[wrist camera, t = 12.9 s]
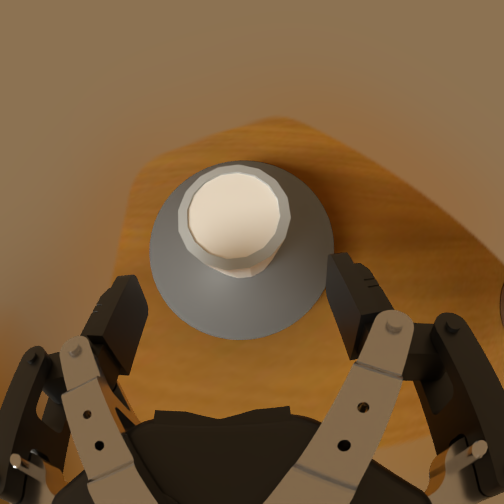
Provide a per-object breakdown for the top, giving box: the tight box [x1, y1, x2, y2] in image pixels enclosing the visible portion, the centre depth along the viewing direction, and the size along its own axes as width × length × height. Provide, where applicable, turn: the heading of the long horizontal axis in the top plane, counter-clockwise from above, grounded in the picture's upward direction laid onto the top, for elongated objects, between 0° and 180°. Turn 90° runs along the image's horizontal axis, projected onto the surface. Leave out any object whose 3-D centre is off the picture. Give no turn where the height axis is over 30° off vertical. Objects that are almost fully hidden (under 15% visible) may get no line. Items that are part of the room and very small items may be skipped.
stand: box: [150, 161, 334, 340], centre depth 25 cm, size 16×16×4 cm
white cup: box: [178, 165, 291, 278], centre depth 20 cm, size 7×7×7 cm
